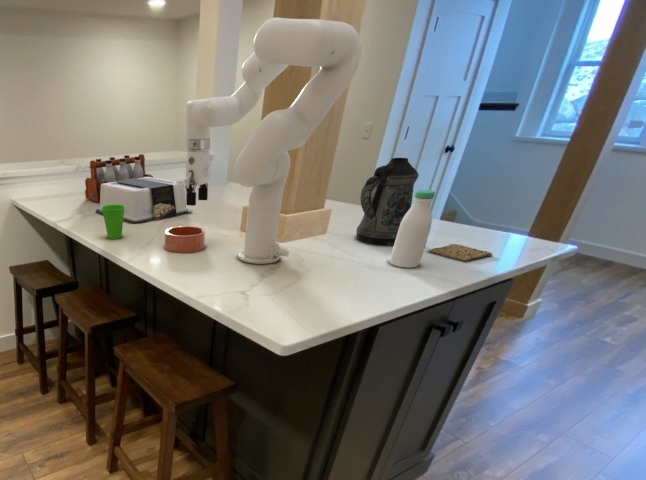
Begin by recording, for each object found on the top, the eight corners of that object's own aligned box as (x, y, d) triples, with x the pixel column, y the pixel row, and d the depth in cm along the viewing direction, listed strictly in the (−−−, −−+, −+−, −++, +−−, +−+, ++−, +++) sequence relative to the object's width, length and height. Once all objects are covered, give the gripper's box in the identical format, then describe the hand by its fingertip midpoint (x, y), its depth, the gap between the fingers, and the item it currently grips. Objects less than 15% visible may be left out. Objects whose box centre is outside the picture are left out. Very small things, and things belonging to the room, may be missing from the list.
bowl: (210, 245, 155) (211, 228, 152) (191, 255, 146) (192, 238, 144) (178, 240, 162) (178, 224, 159) (157, 249, 153) (157, 233, 150)
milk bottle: (417, 269, 126) (441, 194, 115) (387, 266, 130) (408, 192, 119) (419, 262, 131) (442, 189, 121) (390, 258, 135) (410, 187, 124)
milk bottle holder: (81, 200, 235) (77, 159, 225) (134, 190, 252) (133, 152, 242) (103, 205, 221) (100, 162, 210) (157, 195, 238) (157, 155, 227)
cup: (123, 240, 165) (122, 209, 159) (100, 240, 166) (97, 209, 160) (128, 234, 172) (127, 204, 166) (106, 234, 174) (104, 204, 168)
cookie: (427, 251, 139) (428, 248, 138) (454, 245, 143) (455, 242, 142) (465, 261, 130) (466, 258, 129) (492, 255, 133) (494, 252, 133)
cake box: (194, 212, 199) (195, 182, 193) (134, 224, 184) (133, 192, 178) (148, 201, 224) (148, 174, 217) (92, 212, 209) (89, 183, 202)
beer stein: (414, 237, 152) (439, 156, 139) (396, 251, 141) (421, 164, 127) (364, 231, 162) (382, 154, 149) (343, 243, 151) (361, 161, 137)
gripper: (197, 147, 134) (196, 207, 143) (219, 142, 146) (217, 198, 155) (175, 148, 137) (175, 207, 146) (198, 143, 149) (197, 197, 158)
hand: (197, 202), depth 150 cm, fingers open, 9 cm apart
